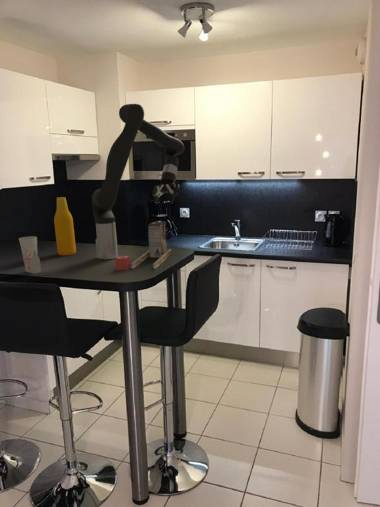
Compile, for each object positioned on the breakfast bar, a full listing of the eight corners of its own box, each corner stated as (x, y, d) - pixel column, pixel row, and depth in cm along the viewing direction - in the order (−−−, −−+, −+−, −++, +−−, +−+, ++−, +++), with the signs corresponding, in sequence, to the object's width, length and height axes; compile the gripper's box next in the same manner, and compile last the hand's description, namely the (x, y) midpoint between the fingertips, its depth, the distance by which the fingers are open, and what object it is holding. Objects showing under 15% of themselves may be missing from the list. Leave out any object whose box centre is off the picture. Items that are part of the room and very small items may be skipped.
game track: (131, 268, 178) (130, 264, 178) (150, 253, 207) (150, 249, 206) (155, 268, 176) (155, 264, 176) (172, 253, 205) (171, 249, 204)
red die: (116, 269, 177) (115, 257, 176) (120, 266, 182) (119, 255, 181) (127, 270, 176) (126, 257, 175) (130, 267, 181) (129, 255, 180)
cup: (43, 260, 200) (40, 236, 197) (32, 264, 192) (29, 239, 190) (29, 260, 202) (26, 236, 200) (18, 264, 195) (15, 239, 192)
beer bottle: (74, 250, 220) (68, 196, 213) (77, 254, 211) (72, 197, 205) (56, 253, 216) (50, 197, 209) (59, 256, 208) (52, 198, 201)
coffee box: (154, 253, 206) (153, 221, 203) (167, 253, 205) (165, 221, 201) (149, 257, 197) (147, 224, 194) (162, 257, 196) (160, 224, 193)
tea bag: (33, 269, 183) (30, 247, 181) (41, 271, 179) (38, 249, 177) (25, 271, 181) (22, 249, 178) (33, 273, 176) (30, 251, 174)
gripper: (153, 172, 211) (147, 200, 205) (178, 169, 205) (172, 198, 199) (160, 180, 217) (154, 207, 211) (184, 177, 211) (179, 205, 205)
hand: (163, 202), depth 205 cm, fingers open, 8 cm apart
